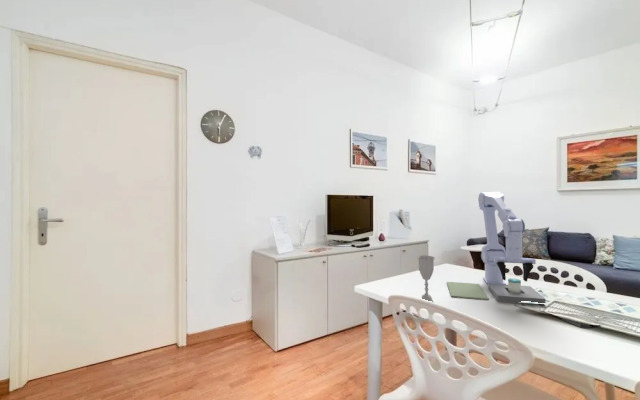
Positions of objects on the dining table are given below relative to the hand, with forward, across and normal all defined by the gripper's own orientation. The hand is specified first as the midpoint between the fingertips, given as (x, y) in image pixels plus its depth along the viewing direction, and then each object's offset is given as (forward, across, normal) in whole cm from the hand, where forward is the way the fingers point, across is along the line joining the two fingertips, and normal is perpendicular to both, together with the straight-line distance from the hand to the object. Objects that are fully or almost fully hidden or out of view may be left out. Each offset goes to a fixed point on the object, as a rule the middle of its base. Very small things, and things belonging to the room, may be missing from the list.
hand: (514, 280), depth 120 cm
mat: (+7, -18, +3) cm, 20 cm away
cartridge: (+7, 0, 0) cm, 7 cm away
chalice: (+7, -35, -14) cm, 38 cm away
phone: (+8, +11, -18) cm, 22 cm away
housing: (+7, 0, 0) cm, 7 cm away
